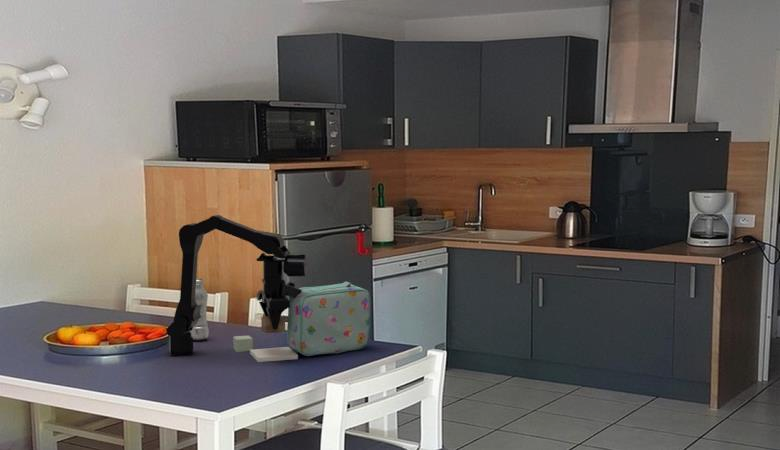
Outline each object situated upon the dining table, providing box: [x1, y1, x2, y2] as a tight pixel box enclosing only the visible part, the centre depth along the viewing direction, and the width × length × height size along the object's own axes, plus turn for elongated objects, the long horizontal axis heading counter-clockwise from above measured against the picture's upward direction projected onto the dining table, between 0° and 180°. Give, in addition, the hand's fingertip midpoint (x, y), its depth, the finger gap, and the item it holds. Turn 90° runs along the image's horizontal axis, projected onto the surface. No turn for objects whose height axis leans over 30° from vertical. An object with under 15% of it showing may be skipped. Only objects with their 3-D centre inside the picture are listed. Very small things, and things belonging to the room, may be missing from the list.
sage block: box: [232, 335, 254, 353], centre depth 287 cm, size 5×5×4 cm
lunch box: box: [286, 281, 372, 357], centre depth 284 cm, size 27×10×21 cm, turn 126°
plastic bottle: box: [190, 278, 210, 341], centre depth 300 cm, size 6×7×20 cm
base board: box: [249, 346, 299, 363], centre depth 278 cm, size 12×12×1 cm
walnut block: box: [260, 315, 286, 334], centre depth 277 cm, size 6×6×4 cm
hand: (273, 327), depth 277 cm, fingers closed on walnut block, 6 cm apart
